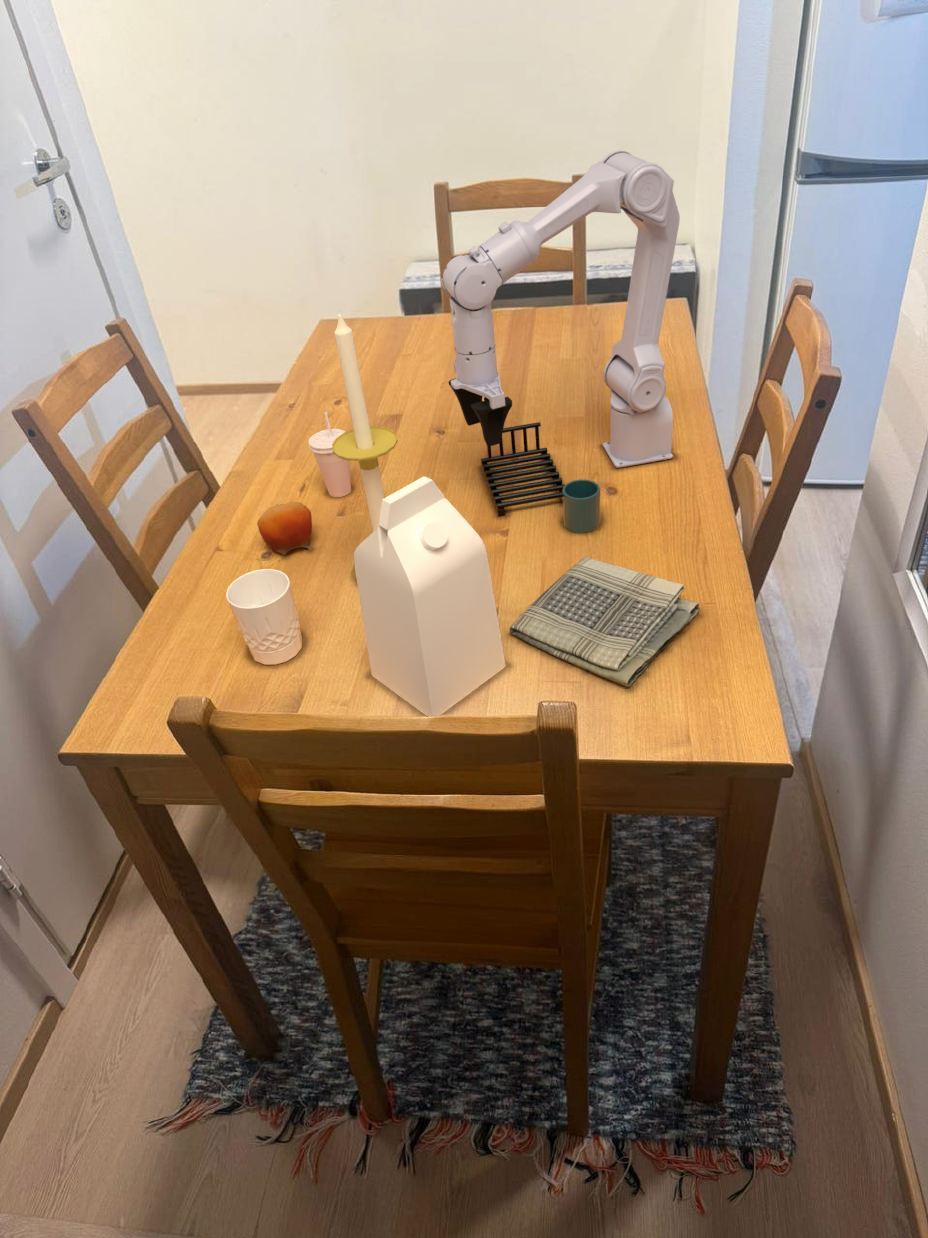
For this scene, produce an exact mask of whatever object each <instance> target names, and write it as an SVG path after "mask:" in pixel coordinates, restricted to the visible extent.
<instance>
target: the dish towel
mask: <svg viewBox="0 0 928 1238" xmlns="http://www.w3.org/2000/svg"><path fill="white" fill-rule="evenodd" d="M685 590H686V588H685V585H684V584H682V583H678V582H675V581H670V580H667V579H664V578H660V577H657V576H654V575H651V574H646V573H643V572H639V571H636V570H632V569H631V568H627V567H623V566H620V565H616V564H611V563H607V562H605V561H600V560H598V559H595V558H591V557H590V556H585V557H582V558H581V559H580V560H579V561H577V562H576V563H575V564H574V565H573V566H571V567H570V568H569V569H568V570H567V571H566V572H565V573H563V575H562V576H560V577H559V578H558V579H557V580H556V581H555V582H554V583H553V584H552V585H550V586H549V587H548V588H547V589H546V590H545V591H544V592H543V593H541V594H540V596H539V597H537V599H536V600H534V602H532V603H531V604H530V606H528V608H527V609H526V610H525V611H523V613H521V615H520V616H519V617H518V618H517V619H516V620H515V621H514V622H513V623H512V624H510V626H509V634H510V635H511V636H515V637H517V638H518V639H519V640H520V639H521V640H523V641H524V642H526V643H527V644H529V645H531V646H533V647H536V648H537V649H539V650H541V651H543V652H545V653H548V654H549V655H551V656H554V657H556V658H558V659H559V660H560V659H561V660H563V661H565V662H567V663H569V664H572V665H574V666H576V667H579V668H581V669H583V670H585V671H588V672H590V673H592V674H595V675H597V676H599V677H602V678H604V679H607V680H609V681H611V682H614V683H616V684H619V685H621V686H623V687H625V688H630V687H631V686H632V685H633V684H634V682H635V681H636V680H637V678H638V677H639V676H641V675H642V674H643V672H645V670H646V669H647V668H648V667H649V665H650V664H651V663H652V662H653V660H654V659H655V658H656V657H657V656H658V655H659V654H660V653H661V652H662V651H664V650H665V649H666V648H667V646H668V645H669V644H670V643H672V641H673V639H674V638H676V637H677V635H678V634H679V633H680V632H681V631H682V630H683V629H684V628H685V627H686V626H687V625H688V624H689V623H690V622H691V621H692V620H693V618H694V617H696V616H697V614H698V612H699V611H700V603H699V602H696V601H693V600H689V599H684V598H682V597H680V596H681V594H682V593H683V592H684V591H685Z"/></svg>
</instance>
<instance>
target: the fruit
mask: <svg viewBox="0 0 928 1238" xmlns="http://www.w3.org/2000/svg"><path fill="white" fill-rule="evenodd" d="M312 519H313V517H312V511H311V510H310V509H309V507H307V506H306V505H305V504H303V502H299V501H289V502H285V503H277V504H275V505H274V506H271V507H268V508H267V509H266V510H265V511H264V512H263V513H262V514H261V515H260V517H259V518H258V520H257V522H256V525H257V528H258V532H259V534H260V536H261V538H262V540H263V541H264V542H265V543H266V545H267V546H269V548H270V549H271V550H272V551H273V552H277V553H280V554H282V555H284V556H286V555H287V553H289V552H290V551H291V550H294V549H296V548H306V549H308V550H309V551H311V549H310V547H309V546H308V543H309V542H310V539H311V536H312V533H313V532H312V531H313V520H312Z"/></svg>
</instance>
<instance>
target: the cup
mask: <svg viewBox="0 0 928 1238" xmlns="http://www.w3.org/2000/svg"><path fill="white" fill-rule="evenodd" d="M562 496H563V504H562V519H563V521H562V522H563V526H564V528H565V529H566V530H568V531H569V532H572V533H576V534H586V533H591V532H594V531H595V530H597V529H598V528H599V526H600V525H601V486H600V485H599V483H597V482H595V481H594V480H590V479H580V478H579V479H574V480H571V481H569V482H567V483H565V486H564V487H563V490H562Z"/></svg>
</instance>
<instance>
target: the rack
mask: <svg viewBox="0 0 928 1238" xmlns="http://www.w3.org/2000/svg"><path fill="white" fill-rule="evenodd" d="M541 426H542V425H541V422H540V421H538V422H532V423H526V424H521V425H520V424H519V425H514V426H509V427H508V426H507V427H504V428H503V434H505V433H509V432H510V443H511V444H510V445H511V453H506V454H505V453H504V441H503V440H504V439H503V438H502V439H501V443H500V444H498V447H499V448H498V449H499V455H494V456H493V454H492V446H490V447H488V446H487V445H486V449H487V457H482V458H480V466H481V467H480V468H481V471H482V474H483V476H484V479H485V482H486V485H487V488H488V491H489V494H490V496H491V499H492V503H493V505H494V508H495V511H496V513H497V516H498V517H503V516H506V511H505V508H509V507H514V506H520V505H527V504H531V503H538V502H544V501H549V500H554V499H559V500H560V502H561V504H562V505H563V496H562V490H563V487H564V486H565V485H566V483H565V484H563V478H562V477H560V471H557V466H556V465H554V460H553V458H551V454H550V453H548V451H549V450H548V447H541V445H540V444H541V443H540V427H541ZM527 429H529V430H530V429H534V434H535V437H534V438H535V449H530V450H529V447H528V446H529V445H528V432H527V431H528V430H527ZM517 431H522V437H523V439H522V440H523V451H518V452H517V450H516V436H515V432H517ZM535 481H536V482H535ZM535 488H536V489H535ZM506 493H507V494H506ZM546 493H547V494H546ZM535 495H537V496H535ZM524 497H525V498H524ZM512 499H513V500H512Z"/></svg>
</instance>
